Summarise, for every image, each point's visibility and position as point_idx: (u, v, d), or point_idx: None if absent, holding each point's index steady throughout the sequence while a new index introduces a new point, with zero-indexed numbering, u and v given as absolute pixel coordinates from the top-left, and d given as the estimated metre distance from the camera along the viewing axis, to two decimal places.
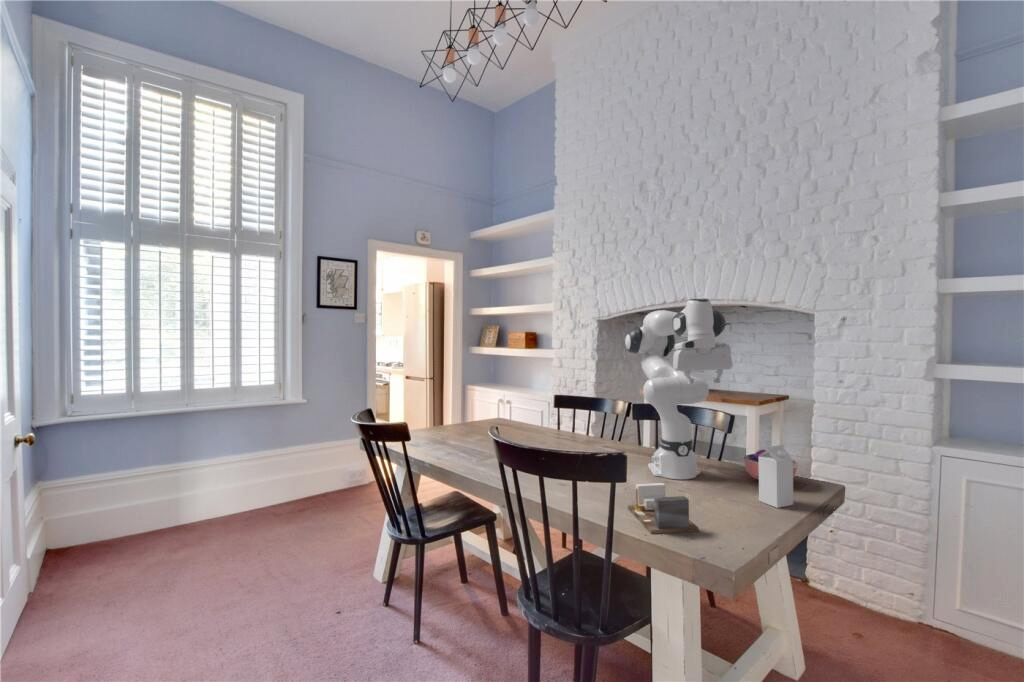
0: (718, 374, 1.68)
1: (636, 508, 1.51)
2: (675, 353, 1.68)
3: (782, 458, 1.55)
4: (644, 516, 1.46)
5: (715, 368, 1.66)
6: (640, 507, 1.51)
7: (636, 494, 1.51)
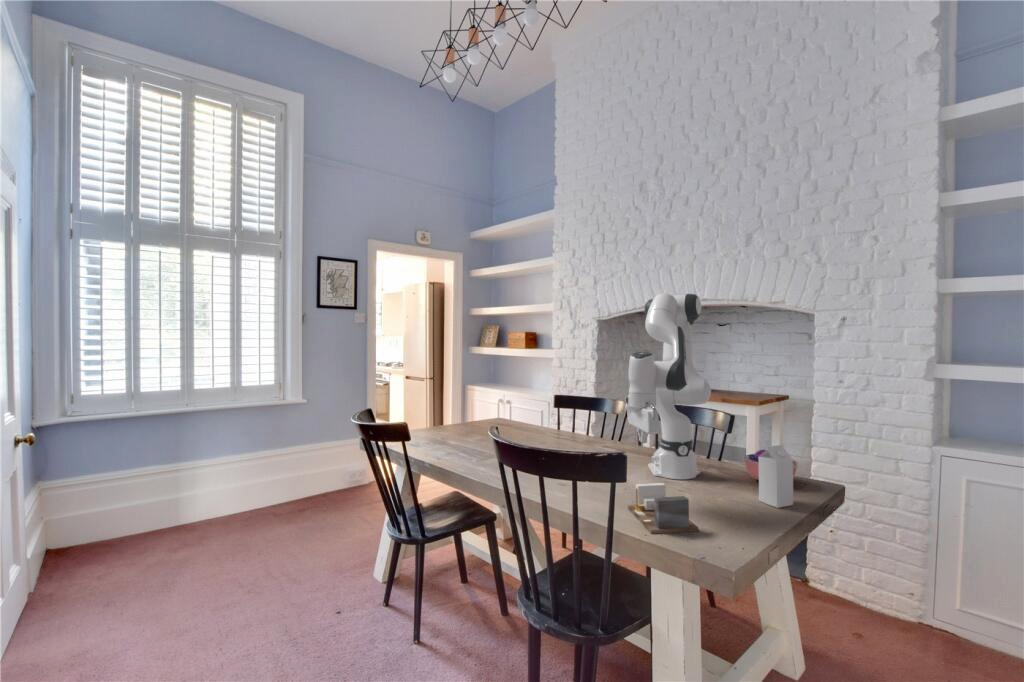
0: None
1: (636, 508, 1.51)
2: None
3: (782, 458, 1.55)
4: (644, 516, 1.46)
5: (641, 429, 1.57)
6: (640, 507, 1.51)
7: (636, 494, 1.51)
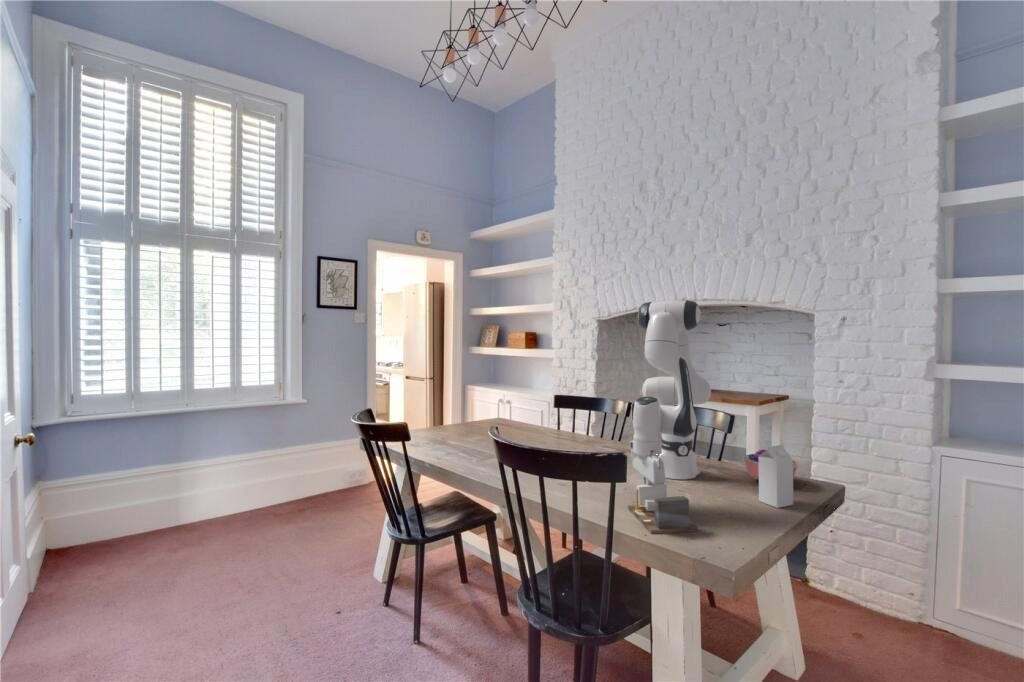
0: None
1: (637, 509, 1.50)
2: None
3: (782, 458, 1.55)
4: (644, 516, 1.46)
5: (646, 477, 1.53)
6: (641, 508, 1.50)
7: (637, 495, 1.50)
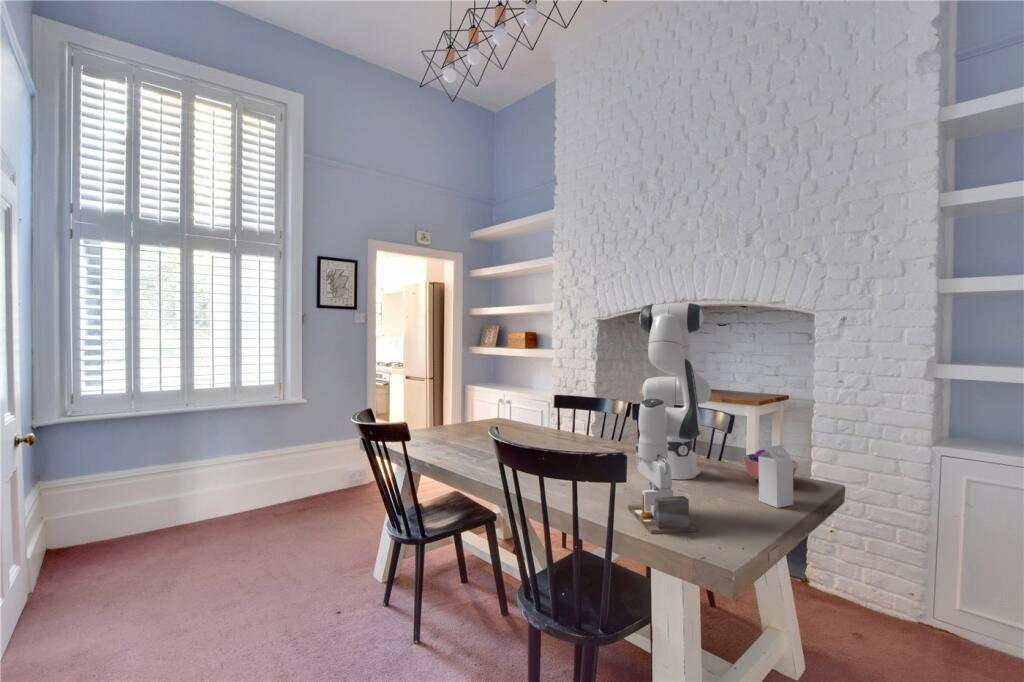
0: None
1: (642, 515, 1.45)
2: None
3: (782, 458, 1.55)
4: None
5: (652, 482, 1.48)
6: (647, 514, 1.45)
7: (642, 500, 1.45)
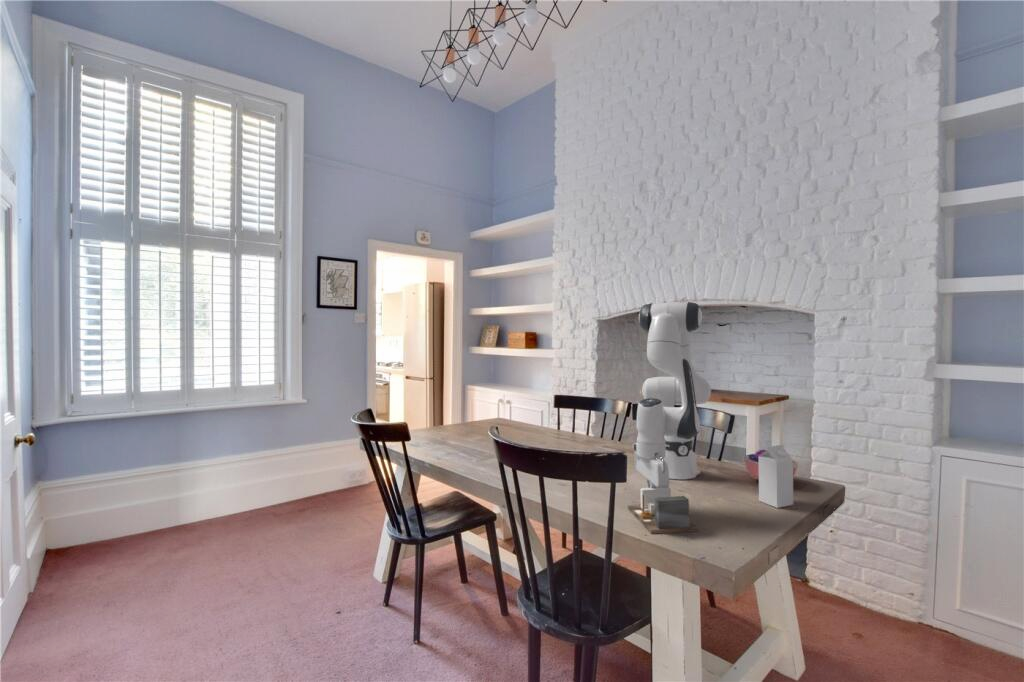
0: None
1: (642, 515, 1.45)
2: None
3: (782, 458, 1.55)
4: None
5: (650, 481, 1.50)
6: (647, 514, 1.45)
7: (642, 500, 1.45)
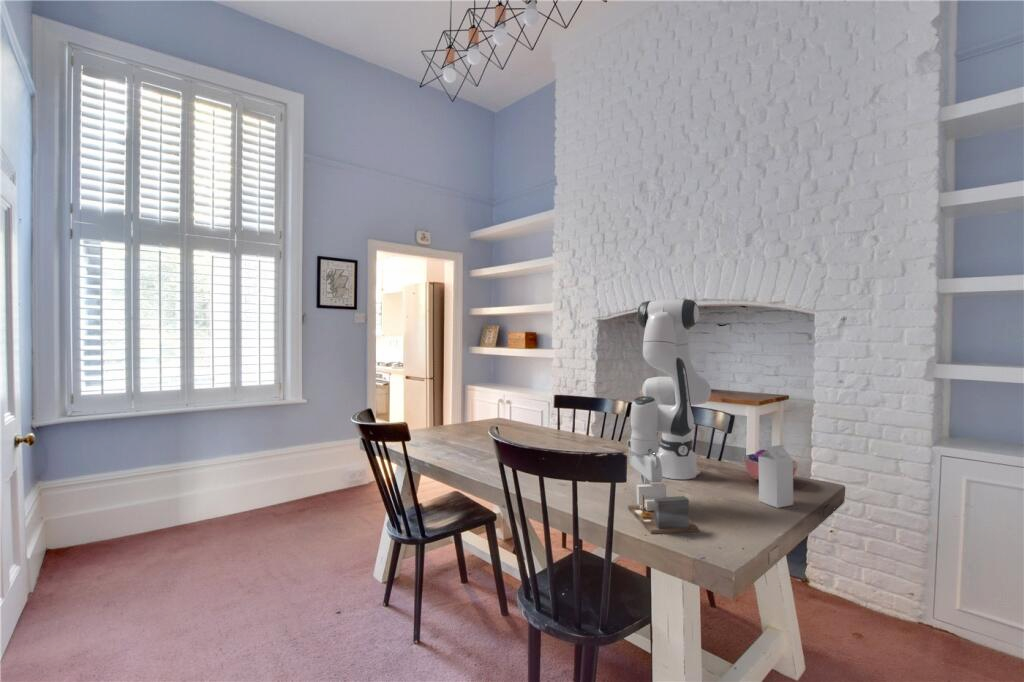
0: None
1: (642, 515, 1.45)
2: None
3: (782, 458, 1.55)
4: None
5: (644, 476, 1.56)
6: (647, 514, 1.45)
7: (642, 500, 1.45)
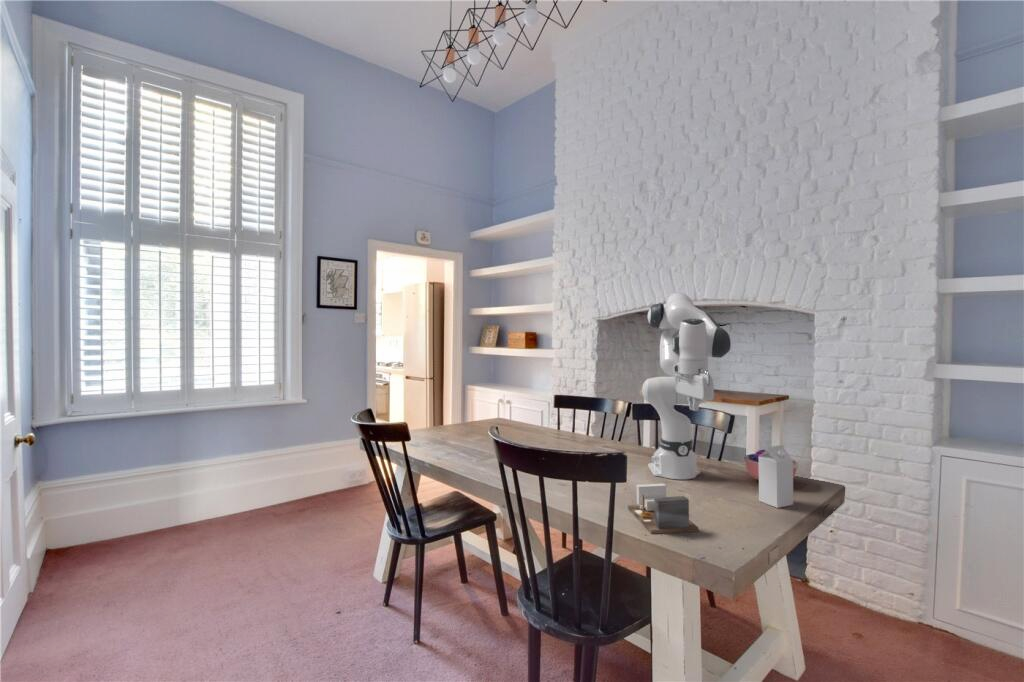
0: None
1: (642, 515, 1.45)
2: None
3: (782, 458, 1.55)
4: None
5: (694, 396, 1.54)
6: (647, 514, 1.45)
7: (642, 500, 1.45)
